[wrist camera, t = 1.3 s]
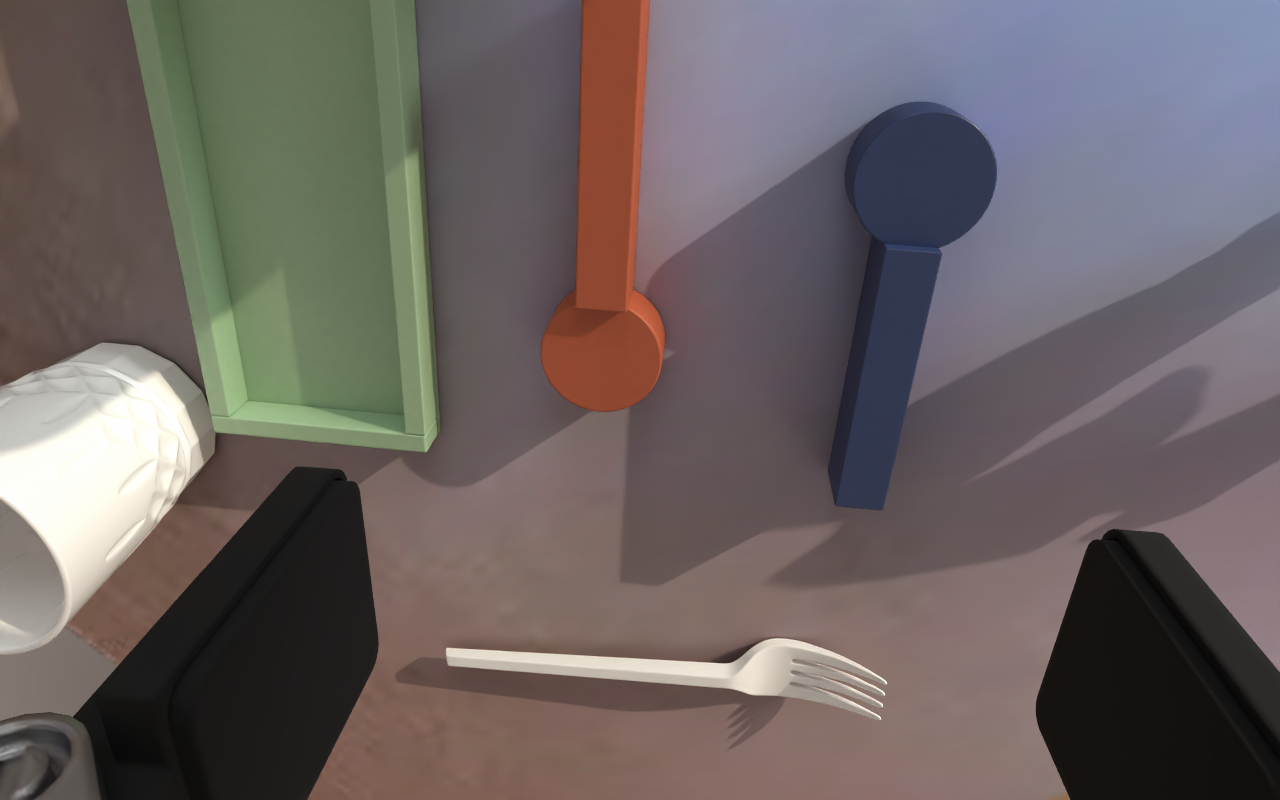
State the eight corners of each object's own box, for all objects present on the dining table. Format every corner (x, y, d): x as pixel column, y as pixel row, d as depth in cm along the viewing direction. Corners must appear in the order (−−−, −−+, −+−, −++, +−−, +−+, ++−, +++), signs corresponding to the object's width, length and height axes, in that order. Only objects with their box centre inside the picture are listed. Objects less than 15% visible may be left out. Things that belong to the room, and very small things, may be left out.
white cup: (214, 336, 33) (30, 469, 25) (246, 500, 37) (95, 667, 28) (25, 319, 34) (-223, 443, 25) (74, 483, 38) (-126, 642, 29)
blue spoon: (905, 478, 34) (918, 514, 31) (795, 468, 34) (800, 503, 32) (994, 106, 27) (1019, 119, 25) (856, 96, 27) (868, 108, 25)
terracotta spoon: (552, -20, 27) (537, -18, 24) (692, -11, 26) (688, -9, 24) (549, 383, 33) (537, 413, 31) (661, 393, 33) (656, 424, 31)
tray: (119, -228, 25) (75, -242, 23) (402, -213, 25) (378, -226, 23) (238, 410, 35) (213, 433, 33) (440, 430, 34) (426, 453, 33)
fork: (444, 621, 39) (431, 650, 38) (881, 643, 38) (888, 674, 36) (452, 672, 41) (441, 702, 39) (873, 696, 39) (880, 729, 37)
